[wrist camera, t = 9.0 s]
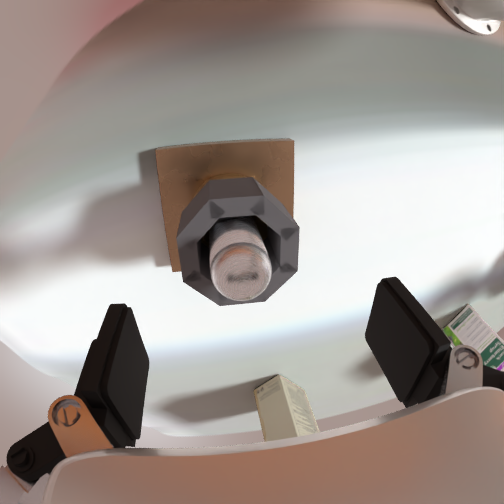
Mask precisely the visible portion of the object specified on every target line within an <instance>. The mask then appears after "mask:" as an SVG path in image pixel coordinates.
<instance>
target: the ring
mask: <svg viewBox="0 0 504 504" xmlns="http://www.w3.org/2000/svg"><path fill="white" fill-rule="evenodd" d="M250 215H256V216H258V217H259V218H260V219H261V220H262V221H263V222H265V223H266V224H267V237H266V238H265V239H264V240H263V243H264V245H265V248H266V251H267V253H268V256H269V258H270V261H271V265H272V275H271V279H270V282H269V284H268V286H267V288H266V289H265V290H264V291H263V292H262V293H261V294H260V295H259V296H257V297H255V298H253V299H251V300H246V301H236V300H232V299H229V298H227V297H225V296H223V295H222V294H221V293H220V292H219V291H218V290H217V289H216V287H215V286H214V284H213V282H212V279H211V275H210V248H208V247H207V246H206V245H204V244H203V243H202V242H201V238H202V237H203V236H204V235H205V233H206V232H207V231H208V230H209V229H210V228H211V227H212V226H213V225H214V223H215V222H216V221H217V220H218V219H219V218H225V217H237V216H250ZM176 239H177V246H178V253H179V259H180V265H181V271H182V277H183V282H184V283H186V284H187V285H189V286H190V287H192V288H193V289H195V290H196V291H198V292H199V293H201V294H202V295H204V296H205V297H207V298H209V299H210V300H212V301H213V302H215V303H216V304H218V305H219V306H224V305H235V304H245V303H254V302H264V301H266V300H267V299H268V298H269V297H270V296H271V295H272V294H273V293H275V292H276V291H277V290H278V289H279V288H280V287H281V286H282V285H283V284H284V283H285V282H286V281H287V280H288V279H289V278H291V277H292V276H293V275H294V274H295V273H296V272H297V271H298V249H299V226H298V225H297V223H296V222H295V220H294V219H293V218H292V216H291V215H290V213H289V212H288V211H287V209H286V208H285V206H284V205H283V204H282V203H281V202H280V201H279V200H278V199H277V198H275V197H274V196H273V195H272V194H271V193H270V192H269V191H268V190H267V189H265V188H264V187H263V186H262V185H261V184H260V183H259V182H258V181H256V180H255V179H254V178H253V177H245V178H231V179H218V180H209V181H208V182H207V183H206V185H205V186H204V187H203V188H202V189H201V190H200V191H199V193H198V194H197V195H196V196H195V197H194V198H193V199H192V201H191V202H190V203H189V204H188V205H187V207H186V208H185V209H184V210H183V211H182V214H181V218H180V223H179V227H178V232H177V236H176Z"/></svg>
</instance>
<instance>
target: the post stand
mask: <svg viewBox="0 0 504 504" xmlns="http://www.w3.org/2000/svg"><path fill="white" fill-rule="evenodd" d="M155 152H156V162H157V171H158V179H159V187H160V195H161V203H162V210H163V217H164V224H165V230H166V237H167V243H168V249H169V255H170V261H171V266H172V272H178V271H181V265H180V259H179V253H178V246H177V239H176V236H177V232H178V227H179V223H180V218H181V214H182V211H183V210H184V209H185V208H186V207H187V205H188V204H189V203H190V202H191V201H192V199H193V198H194V197H195V196H196V195H197V194H198V193H199V191H200V190H201V189H202V188H203V187H204V186H205V185H206V183H207V182H208V181H209V180H218V179H231V178H245V177H253V178H254V179H255V180H256V181H258V182H259V183H260V184H261V185H262V186H263V187H264V188H265V189H267V190H268V191H269V192H270V193H271V194H272V195H273V196H274V197H275V198H277V199H278V200H279V201H280V202H281V203H282V204H283V205H284V206H285V208H286V209H287V211H288V212H289V213H290V215H291V216H292V218H293V206H294V140H291V139H289V138H288V139H251V140H232V141H217V142H205V143H193V144H183V145H174V146H166V147H158V148H157V149H156V150H155ZM266 237H267V224H266V223H265V222H263V221H262V220H261V219H260V218H259V217H258V216H256V215H250V216H237V217H225V218H219V219H218V220H217V221H216V222H215V223H214V225H213V226H212V227H211V228H210V229H209V230H208V231H207V232H206V233H205V235H204V236H203V237H202V238H201V242H202V243H203V244H204V245H206V246H207V247H208V248H210V275H211V279H212V282H213V284H214V286H215V287H216V289H217V290H218V291H219V292H220V293H221V294H222V295H223V296H225V297H227V298H229V299H232V300H236V301H246V300H251V299H253V298H255V297H257V296H259V295H260V294H261V293H262V292H263V291H264V290H265V289H266V288H267V286H268V284H269V282H270V279H271V275H272V265H271V261H270V258H269V256H268V253H267V251H266V248H265V245H264V243H263V240H264V239H265V238H266Z"/></svg>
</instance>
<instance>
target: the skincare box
mask: <svg viewBox="0 0 504 504" xmlns="http://www.w3.org/2000/svg"><path fill="white" fill-rule="evenodd" d="M254 395H255V400H256V404H257V409H258V414H259V418H260V423H261V427H262V432H263V436H264V440H265V442H267V441H274V440H281V439H287V438H293V437H299V436H304V435H309V434H314V433H319V432H320V431H319V429H318V426H317V423H316V420H315V418H314V415H313V412H312V409H311V407H310V404H309V401H308V398H307V395H306V393H305V390H303V389H302V388H300V387H299V386H297V385H296V384H294V383H292V382H291V381H289V380H288V379H286V378H284V377H283V376H281V375H277V376H276V377H274V378H273V379H271V380H270V381H268V382H266V383H265V384H263V385H261V386H260V387H258V388H257V389H255V390H254Z"/></svg>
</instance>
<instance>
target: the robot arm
mask: <svg viewBox="0 0 504 504" xmlns="http://www.w3.org/2000/svg"><path fill="white" fill-rule="evenodd" d="M437 2H438V3H439V5H440V6H441V7H442V8H443V9H444V10H445V12H446V13H447V14H448V15H449V16H450V17H451V18H452V19H453V20H454V21H455V22H456V23H457V24H459V25H460V26H461V27H462V28H464V29H466V30H467V31H469V32H471V33H473V34H476V35H491V34H493V33H495V32H496V31H497V30H498V28H499V26H500V22H501V21H504V0H437ZM365 338H366V341H367V343H368V345H369V347H370V349H371V350H372V352H373V354H374V356H375V358H376V359H377V361H378V363H379V365H380V367H381V368H382V370H383V372H384V374H385V376H386V378H387V379H388V381H389V383H390V385H391V387H392V389H393V391H394V393H395V394H396V396H397V398H398V400H399V401H400V402H403V404H404V405H405V407H406V408H405V409H402V410H400V411H397V412H394V413H390V414H387V415H384V416H381V417H378V418H374V419H371V420H367V421H364V422H360V423H356V424H353V425H349V426H345V427H341V428H337V429H333V430H328V431H324V432H319V433H314V434H309V435H304V436H299V437H293V438H287V439H281V440H274V441H267V442H260V443H251V444H242V445H232V446H219V447H203V448H164V449H163V448H159V449H158V448H125V446H131V447H135V442H136V439H139V438H140V435H141V425H142V416H143V408H144V400H145V392H146V385H147V377H148V371H149V358H148V355H147V352H146V350H145V347H144V344H143V341H142V338H141V335H140V333H139V330H138V327H137V324H136V321H135V317H134V314H133V311H132V309H131V307H127V305H126V304H111V305H110V306H109V308H108V310H107V313H106V316H105V318H104V321H103V323H102V326H101V329H100V331H99V334H98V337H97V339H95V340H93V341H92V343H91V346H90V349H89V351H88V354H87V357H86V360H85V363H84V366H83V369H82V372H81V375H80V378H79V381H78V384H77V387H76V391H75V394H74V396H73V395H66V396H62V397H60V398H58V399H56V400H55V401H54V402H53V403H52V404H51V406H50V408H49V411H48V420H49V422H47V423H46V424H44V425H42V426H41V427H40V428H38V429H36V430H35V431H33V432H32V433H30V434H28V435H27V436H25V437H24V438H22V439H21V440H19V441H18V442H16V443H14V444H13V445H12V446H11V447H10V449H9V451H8V454H7V464H8V465H7V466H6V467H4V466H1V468H0V504H504V372H503V371H500V370H497V369H494V368H491V367H488V366H485V365H483V361H482V357H481V355H480V353H479V352H478V351H477V350H476V349H474V348H473V347H471V346H468V345H457V346H455V347H454V348H453V349H452V348H451V346H450V344H451V341H450V340H449V339H448V338H447V336H446V335H445V334H444V333H443V331H442V330H441V329H440V328H439V326H438V325H437V324H436V323H435V321H434V320H433V319H432V318H431V316H430V315H429V314H428V313H427V312H426V310H425V309H424V308H423V307H422V306H421V304H420V303H419V302H418V301H417V300H416V299H415V297H414V296H413V295H412V294H411V293H410V292H409V291H408V289H407V288H406V287H405V286H404V285H403V284H402V283H401V281H400V280H399V279H398V278H397V277H390V278H383V279H382V280H381V282H380V283H378V285H377V288H376V293H375V297H374V301H373V305H372V309H371V313H370V317H369V321H368V325H367V329H366V332H365ZM417 403H418V404H417ZM416 404H417V405H416ZM413 405H414V406H413Z"/></svg>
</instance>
